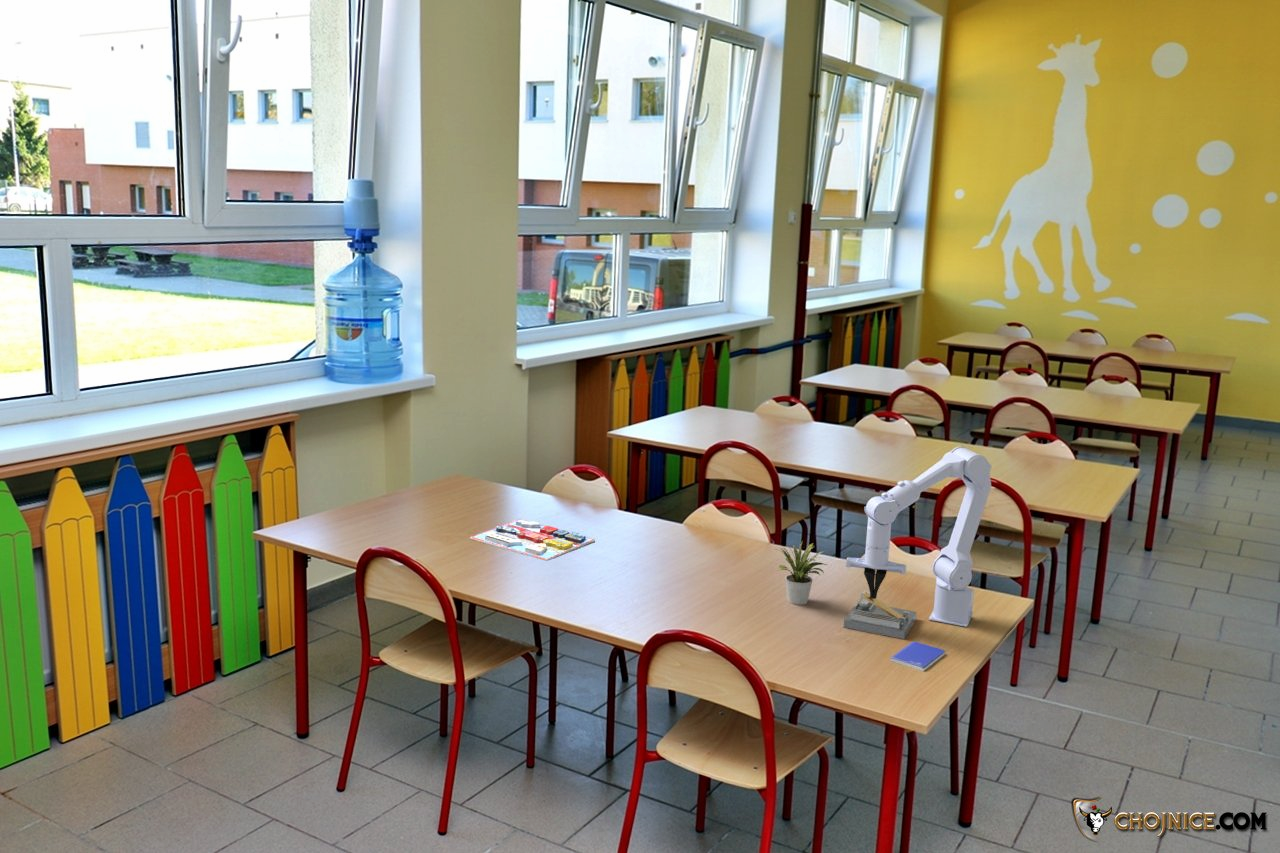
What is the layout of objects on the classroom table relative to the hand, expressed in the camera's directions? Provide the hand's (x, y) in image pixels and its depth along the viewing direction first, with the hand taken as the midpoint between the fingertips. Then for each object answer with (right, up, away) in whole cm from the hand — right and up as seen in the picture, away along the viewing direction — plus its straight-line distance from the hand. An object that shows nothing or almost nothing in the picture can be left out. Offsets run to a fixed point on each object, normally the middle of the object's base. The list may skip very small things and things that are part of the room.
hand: (873, 597), depth 274 cm
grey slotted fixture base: (+2, -7, +2) cm, 7 cm away
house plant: (-18, -4, +14) cm, 23 cm away
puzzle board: (-91, +7, +57) cm, 108 cm away
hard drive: (+7, -12, -18) cm, 23 cm away
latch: (0, -3, +7) cm, 8 cm away
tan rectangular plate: (+2, -3, -1) cm, 3 cm away
